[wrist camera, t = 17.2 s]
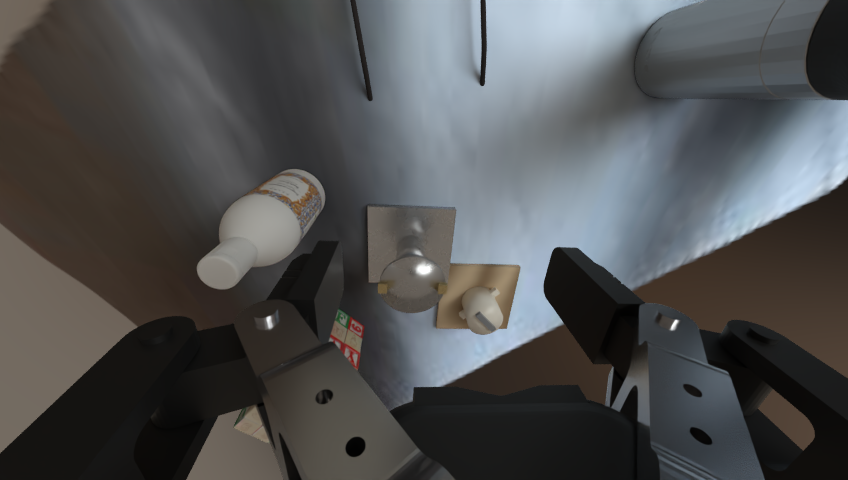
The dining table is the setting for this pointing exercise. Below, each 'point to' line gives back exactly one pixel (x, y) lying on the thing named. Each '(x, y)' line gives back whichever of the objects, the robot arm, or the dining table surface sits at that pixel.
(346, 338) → the stack of blocks
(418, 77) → the dining table surface
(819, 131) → the dining table surface
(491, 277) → the coaster
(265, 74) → the dining table surface
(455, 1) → the dining table surface
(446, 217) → the knob on square base
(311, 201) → the bath foam
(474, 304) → the cap
